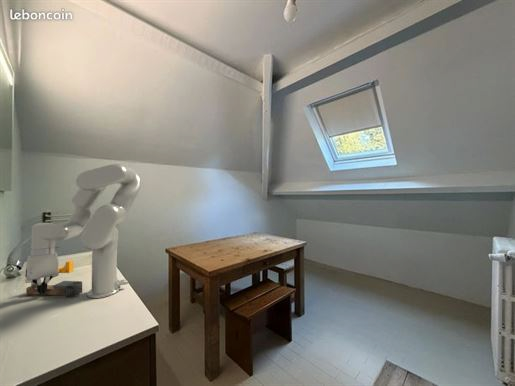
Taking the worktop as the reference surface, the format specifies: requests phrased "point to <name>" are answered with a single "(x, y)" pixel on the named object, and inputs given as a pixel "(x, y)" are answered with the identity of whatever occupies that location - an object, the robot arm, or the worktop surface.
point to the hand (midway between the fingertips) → (42, 292)
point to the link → (49, 291)
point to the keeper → (70, 287)
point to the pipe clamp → (66, 267)
